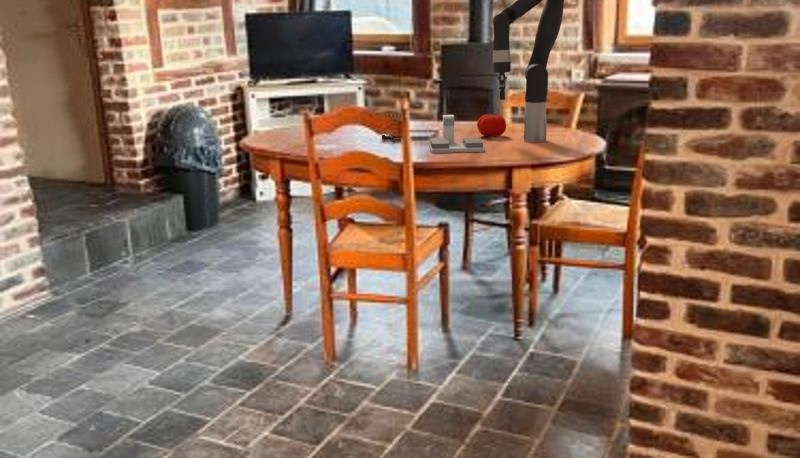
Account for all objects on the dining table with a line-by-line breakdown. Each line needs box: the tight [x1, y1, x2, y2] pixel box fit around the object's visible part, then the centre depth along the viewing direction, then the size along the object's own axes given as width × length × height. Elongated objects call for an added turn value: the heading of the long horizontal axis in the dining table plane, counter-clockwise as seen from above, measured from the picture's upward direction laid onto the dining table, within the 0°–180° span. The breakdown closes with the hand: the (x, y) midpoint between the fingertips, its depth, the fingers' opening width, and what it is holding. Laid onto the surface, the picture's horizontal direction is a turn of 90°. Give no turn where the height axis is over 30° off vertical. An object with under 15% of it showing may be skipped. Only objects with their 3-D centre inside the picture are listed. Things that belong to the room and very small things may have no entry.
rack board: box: [428, 137, 486, 154], centre depth 327 cm, size 22×16×4 cm
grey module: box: [442, 114, 455, 143], centre depth 340 cm, size 5×5×12 cm
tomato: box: [476, 112, 507, 137], centre depth 356 cm, size 13×12×11 cm
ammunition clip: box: [381, 112, 401, 141], centre depth 354 cm, size 11×2×12 cm, turn 88°
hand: (502, 99), depth 336 cm, fingers open, 8 cm apart
